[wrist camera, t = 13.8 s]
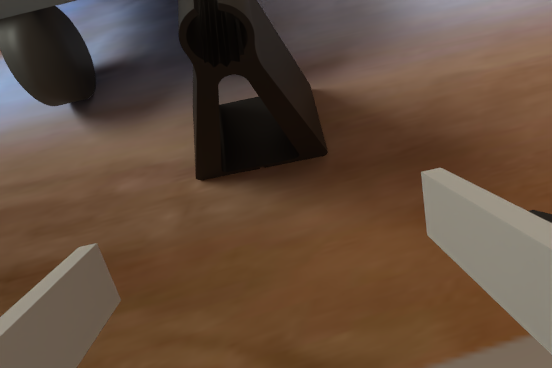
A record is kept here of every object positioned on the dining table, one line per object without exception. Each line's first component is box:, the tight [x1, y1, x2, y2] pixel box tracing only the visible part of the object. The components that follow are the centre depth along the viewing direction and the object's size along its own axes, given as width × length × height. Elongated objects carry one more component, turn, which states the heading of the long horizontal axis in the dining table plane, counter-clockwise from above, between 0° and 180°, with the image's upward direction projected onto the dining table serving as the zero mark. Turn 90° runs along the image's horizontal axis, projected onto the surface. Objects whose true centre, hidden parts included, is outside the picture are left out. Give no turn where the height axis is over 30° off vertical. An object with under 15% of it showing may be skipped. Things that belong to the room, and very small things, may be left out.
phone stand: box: [178, 0, 328, 180], centre depth 19 cm, size 9×6×12 cm, turn 98°
